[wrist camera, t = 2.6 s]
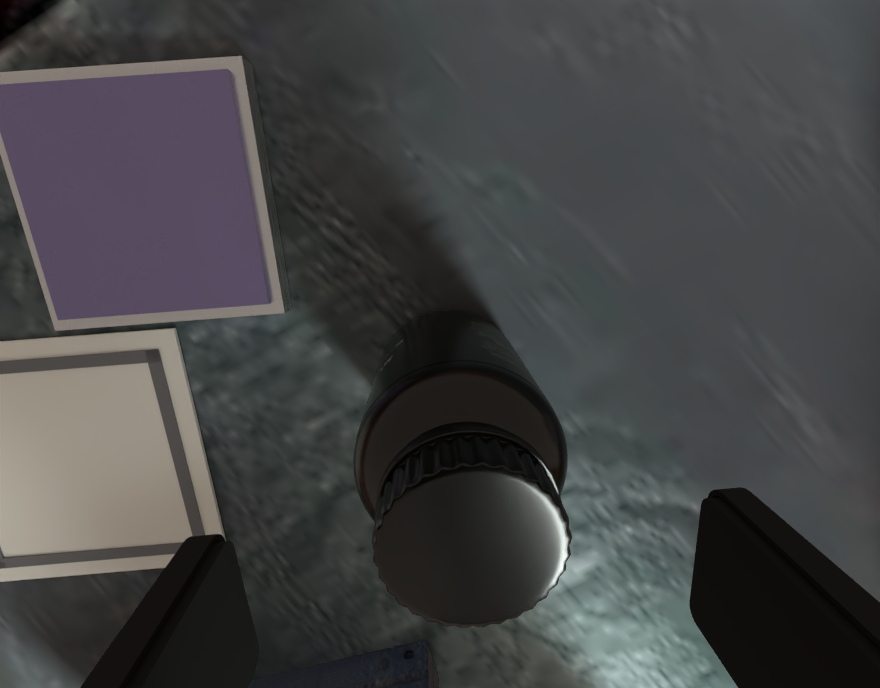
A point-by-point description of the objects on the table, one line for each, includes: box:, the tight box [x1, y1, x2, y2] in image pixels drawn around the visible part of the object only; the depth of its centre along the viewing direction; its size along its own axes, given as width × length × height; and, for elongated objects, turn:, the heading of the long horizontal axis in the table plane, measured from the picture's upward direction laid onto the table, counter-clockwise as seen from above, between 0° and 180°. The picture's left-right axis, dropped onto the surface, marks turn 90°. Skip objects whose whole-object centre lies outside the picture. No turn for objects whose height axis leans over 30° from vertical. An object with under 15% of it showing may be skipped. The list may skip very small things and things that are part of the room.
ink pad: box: [0, 56, 292, 331], centre depth 19 cm, size 10×10×2 cm
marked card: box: [0, 328, 226, 582], centre depth 22 cm, size 13×13×1 cm
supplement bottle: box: [353, 311, 572, 628], centre depth 16 cm, size 7×7×12 cm
